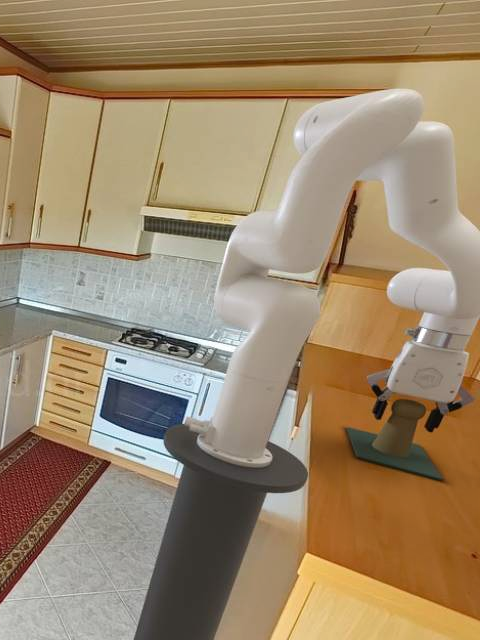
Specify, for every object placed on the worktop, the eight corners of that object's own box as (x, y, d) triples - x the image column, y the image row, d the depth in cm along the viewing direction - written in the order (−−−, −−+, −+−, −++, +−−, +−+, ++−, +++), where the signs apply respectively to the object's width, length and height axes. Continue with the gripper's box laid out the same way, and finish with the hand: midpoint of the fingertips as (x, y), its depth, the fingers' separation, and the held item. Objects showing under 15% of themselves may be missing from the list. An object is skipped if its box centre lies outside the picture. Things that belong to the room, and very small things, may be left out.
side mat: (356, 458, 96) (357, 456, 96) (346, 428, 111) (347, 426, 111) (442, 481, 90) (443, 479, 90) (418, 447, 105) (419, 444, 105)
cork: (381, 453, 98) (403, 403, 94) (366, 441, 104) (386, 393, 100) (415, 459, 97) (439, 409, 93) (398, 446, 103) (419, 398, 99)
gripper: (386, 333, 93) (352, 417, 99) (509, 354, 85) (464, 444, 91) (379, 327, 99) (347, 406, 105) (494, 346, 91) (452, 430, 98)
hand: (402, 423), depth 98 cm, fingers open, 7 cm apart
